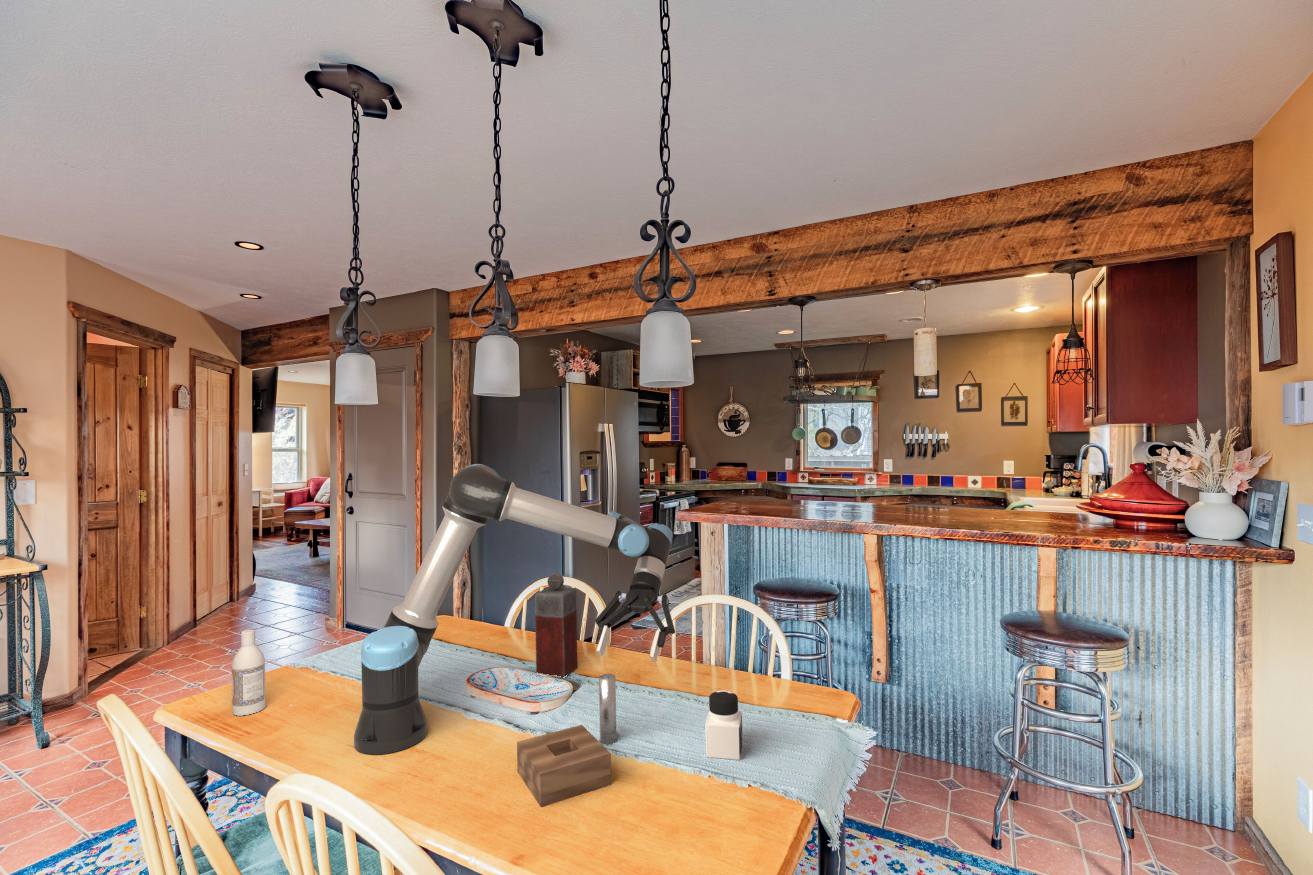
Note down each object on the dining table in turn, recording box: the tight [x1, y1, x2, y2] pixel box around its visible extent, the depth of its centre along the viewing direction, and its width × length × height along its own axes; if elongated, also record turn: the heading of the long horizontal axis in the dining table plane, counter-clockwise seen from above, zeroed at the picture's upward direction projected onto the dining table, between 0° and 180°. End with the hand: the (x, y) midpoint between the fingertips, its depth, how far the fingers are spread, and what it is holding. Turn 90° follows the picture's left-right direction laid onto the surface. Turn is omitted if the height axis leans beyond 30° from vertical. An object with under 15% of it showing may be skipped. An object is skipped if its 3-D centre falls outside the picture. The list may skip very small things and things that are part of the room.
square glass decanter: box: [534, 572, 579, 677], centre depth 178 cm, size 9×11×28 cm
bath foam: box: [231, 628, 267, 717], centre depth 155 cm, size 7×7×20 cm
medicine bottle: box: [704, 690, 743, 761], centre depth 130 cm, size 7×7×12 cm
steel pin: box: [598, 673, 618, 745], centre depth 135 cm, size 4×4×14 cm
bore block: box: [516, 724, 612, 808], centre depth 121 cm, size 14×14×6 cm
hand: (626, 656), depth 145 cm, fingers open, 13 cm apart
